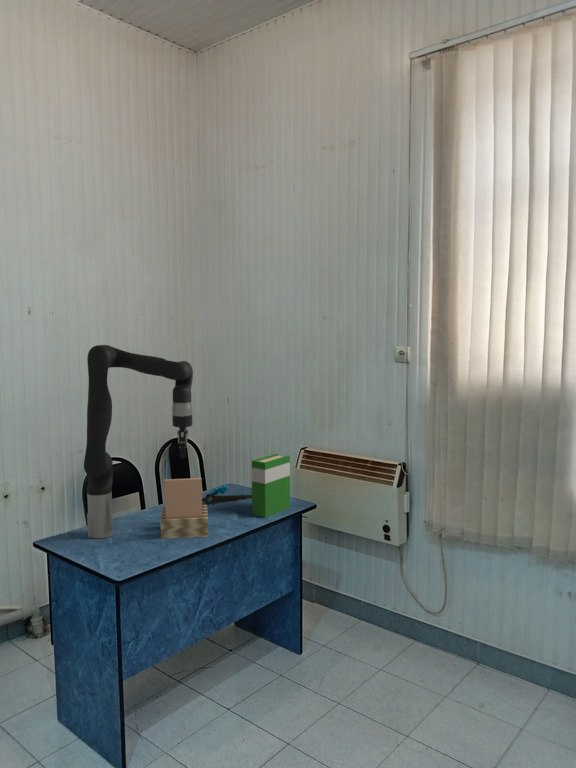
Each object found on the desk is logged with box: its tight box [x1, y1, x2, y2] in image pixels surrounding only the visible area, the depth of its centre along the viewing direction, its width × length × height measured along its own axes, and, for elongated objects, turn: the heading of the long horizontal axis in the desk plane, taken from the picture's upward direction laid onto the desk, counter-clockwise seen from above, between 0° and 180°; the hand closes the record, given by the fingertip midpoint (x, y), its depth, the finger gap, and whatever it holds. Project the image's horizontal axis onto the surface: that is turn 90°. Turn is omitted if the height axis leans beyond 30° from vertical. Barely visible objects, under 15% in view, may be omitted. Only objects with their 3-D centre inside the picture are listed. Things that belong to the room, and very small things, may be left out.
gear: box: [205, 485, 228, 502], centre depth 299 cm, size 11×6×10 cm
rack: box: [159, 504, 209, 540], centre depth 255 cm, size 18×19×8 cm
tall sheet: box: [164, 477, 203, 519], centre depth 248 cm, size 14×2×22 cm, turn 99°
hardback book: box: [251, 453, 291, 519], centre depth 281 cm, size 18×7×24 cm, turn 143°
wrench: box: [202, 493, 252, 506], centre depth 297 cm, size 5×5×30 cm
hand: (183, 455), depth 245 cm, fingers open, 8 cm apart
